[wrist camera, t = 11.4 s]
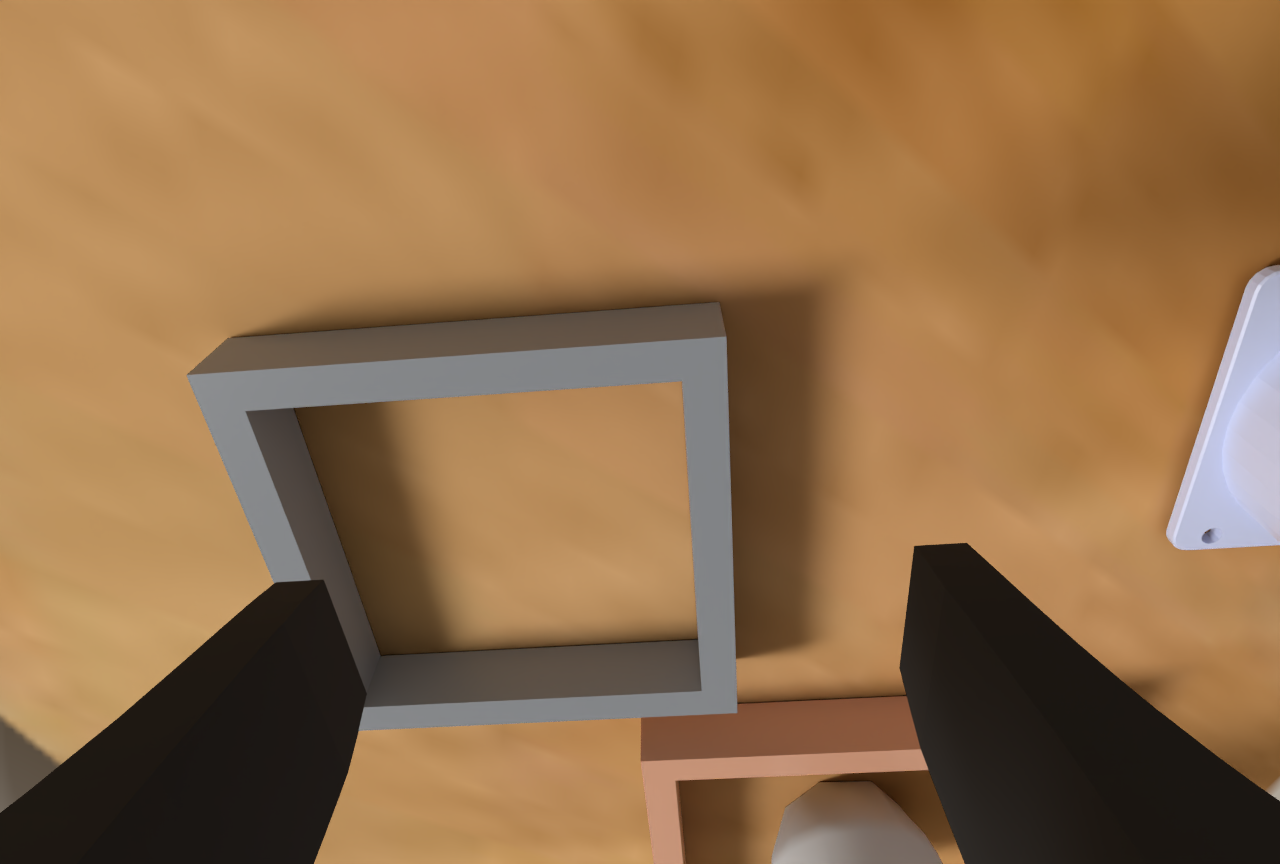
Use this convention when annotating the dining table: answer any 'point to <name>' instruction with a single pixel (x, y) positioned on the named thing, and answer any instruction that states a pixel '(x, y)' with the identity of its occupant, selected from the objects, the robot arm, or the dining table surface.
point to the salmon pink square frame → (768, 750)
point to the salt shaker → (850, 829)
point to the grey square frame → (465, 366)
